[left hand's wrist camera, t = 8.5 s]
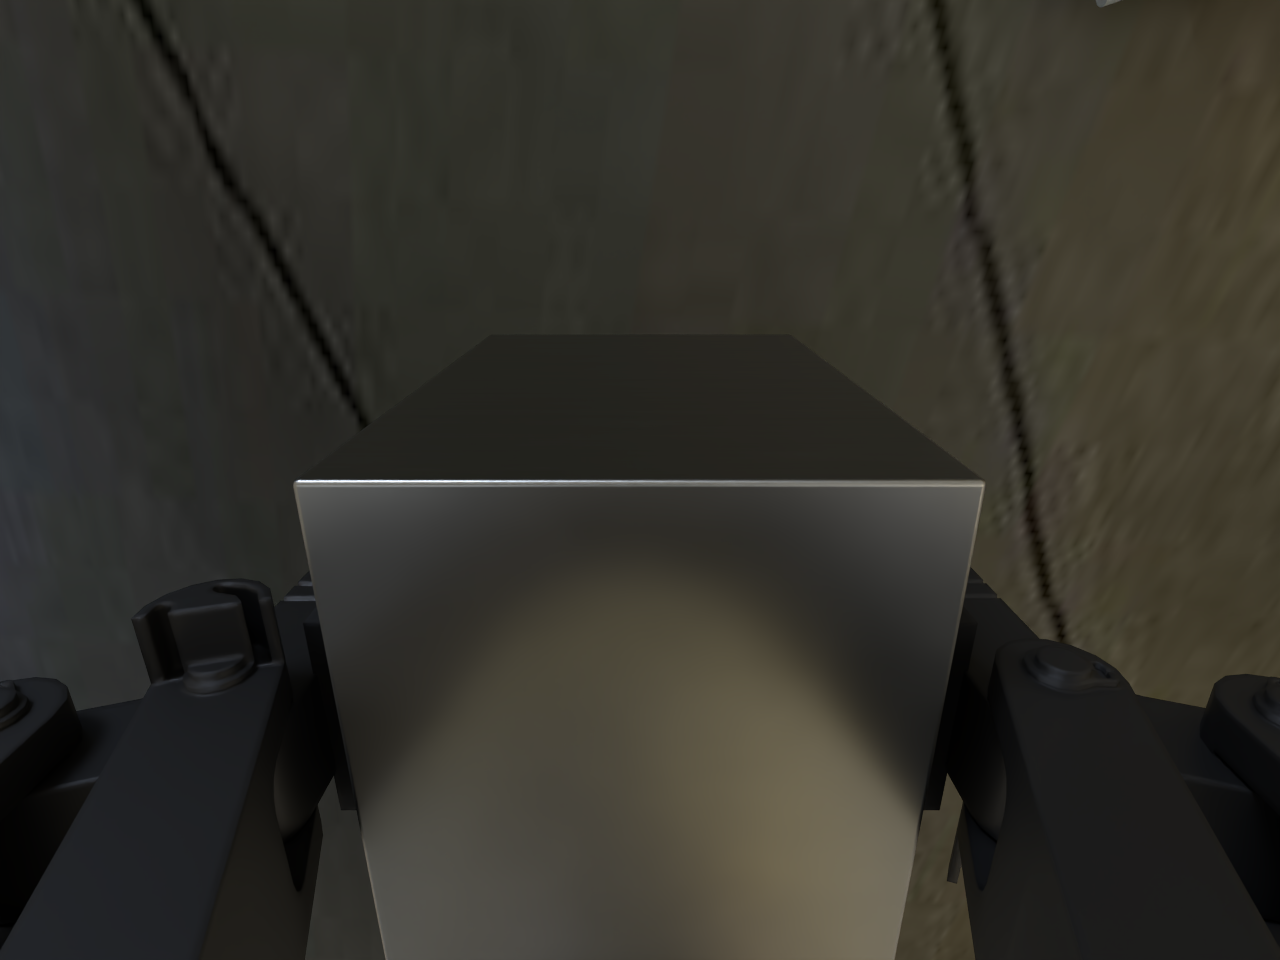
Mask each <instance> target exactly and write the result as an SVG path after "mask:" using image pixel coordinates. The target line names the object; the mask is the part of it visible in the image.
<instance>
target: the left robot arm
mask: <svg viewBox="0 0 1280 960" xmlns="http://www.w3.org/2000/svg"><path fill="white" fill-rule="evenodd" d="M131 620H132V623H133V626H134V629H135V633H136V636H137V639H138V642H139V646H140V649H141V652H142V655H143V659H144V662H145V665H146V668H147V671H148V675H149V678H150V681H151V685H150V687H149V689H148V691H147V692H146V694H145V696H144V698H142V699H138V700H133V701H127V702H122V703H117V704H112V705H106V706H101V707H96V708H91V709H85V710H80V711H76V710H75V707H74V704H73V701H72V698H71V696H70V693H69V690H68V687H67V686H66V685H64V684H63V683H61V682H60V681H58V680H57V679H50V678H39V677H33V678H26V679H19V680H6V681H2V682H0V960H305V954H306V947H307V940H308V934H309V927H310V920H311V913H312V906H313V899H314V892H315V886H316V879H317V872H318V865H319V858H320V851H321V845H322V838H323V832H322V824H321V818H320V813H319V809H318V803H319V801H320V799H321V797H322V795H323V794H324V792H325V790H326V788H327V786H328V785H329V783H330V781H331V779H332V777H333V776H334V778H335V783H336V788H337V793H338V798H339V803H340V808H341V810H356V805H355V799H354V794H353V789H352V784H351V779H350V774H349V769H348V764H347V759H346V753H345V748H344V743H343V738H342V733H341V728H340V723H339V718H338V713H337V707H336V702H335V697H334V692H333V687H332V682H331V677H330V672H329V667H328V661H327V656H326V651H325V646H324V641H323V636H322V631H321V626H320V621H319V615H318V610H317V605H316V600H315V595H314V590H313V585H312V580H311V575H310V571H309V572H308V573H307V574H306V575H305V576H304V577H303V578H302V579H301V580H300V581H299V582H298V586H294V587H293V588H292V589H291V591H290V592H289V593H288V594H287V595H286V596H285V597H284V601H280V602H279V603H278V604H277V605H276V606H275V607H274V604H273V600H272V595H271V591H270V588H268V587H267V586H265V585H264V584H262V583H261V582H259V581H253V580H247V579H224V580H215V581H210V582H205V583H200V584H195V585H191V586H188V587H186V588H183V589H180V590H177V591H174V592H171V593H168V594H166V595H164V596H162V597H161V598H159V599H157V600H155V601H153V602H151V603H149V604H148V605H146V606H144V607H143V608H142V609H141V610H140V611H139V612H138V613H137V614H136V615H135V616H134V617H132V618H131ZM947 773H948V775H949V776H950V778H951V780H952V782H953V784H954V785H955V787H956V789H957V791H958V793H959V794H960V796H961V798H962V800H963V804H962V809H961V813H960V818H959V823H958V827H957V832H956V836H955V841H954V845H953V850H952V854H951V859H950V863H949V869H948V877H947V881H949V882H953V883H957V881H958V876H959V872H960V868H961V867H962V870H963V877H964V884H965V891H966V898H967V904H968V911H969V918H970V925H971V932H972V938H973V945H974V952H975V959H976V960H1280V678H1277V677H1265V676H1257V675H1250V674H1241V675H1230V676H1225V677H1223V678H1222V679H1220V680H1219V681H1217V682H1216V683H1215V684H1214V687H1213V689H1212V692H1211V695H1210V698H1209V700H1208V703H1207V706H1206V708H1202V707H1196V706H1191V705H1186V704H1181V703H1175V702H1170V701H1165V700H1160V699H1154V698H1149V697H1144V696H1140V695H1136V694H1135V693H1134V691H1133V689H1132V688H1131V686H1130V684H1129V683H1128V682H1127V680H1126V679H1125V678H1124V677H1123V676H1122V675H1121V674H1120V673H1119V671H1118V670H1117V669H1116V668H1114V667H1113V666H1111V665H1110V664H1108V663H1106V662H1105V661H1103V660H1102V659H1100V658H1099V657H1097V656H1096V655H1093V654H1091V653H1088V652H1086V651H1084V650H1081V649H1079V648H1076V647H1074V646H1072V645H1067V644H1063V643H1059V642H1055V641H1051V640H1047V639H1039V638H1038V637H1037V636H1036V635H1035V634H1034V633H1033V632H1032V631H1031V630H1030V628H1029V627H1028V626H1027V625H1026V624H1025V623H1024V622H1023V621H1022V620H1021V619H1020V618H1019V617H1018V616H1017V615H1016V614H1015V613H1014V612H1013V611H1012V610H1011V609H1010V608H1009V607H1008V606H1007V605H1006V603H1005V602H1004V601H1003V600H1002V599H1001V598H997V594H996V593H995V592H994V591H993V590H992V589H991V588H990V587H989V586H988V585H987V584H986V583H983V580H982V579H981V577H980V576H979V575H978V574H977V573H976V572H975V571H974V570H973V569H972V568H971V567H970V571H969V576H968V582H967V587H966V592H965V597H964V602H963V607H962V613H961V618H960V623H959V628H958V633H957V638H956V644H955V649H954V654H953V659H952V664H951V669H950V675H949V680H948V685H947V690H946V695H945V700H944V706H943V711H942V716H941V721H940V726H939V732H938V737H937V742H936V747H935V752H934V757H933V763H932V768H931V773H930V778H929V783H928V788H927V794H926V799H925V804H924V809H923V810H940V805H941V800H942V795H943V791H944V786H945V781H946V776H947Z"/></svg>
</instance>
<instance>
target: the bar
mask: <svg viewBox="0 0 1280 960" xmlns="http://www.w3.org/2000/svg"><path fill="white" fill-rule="evenodd" d="M293 488H294V493H295V498H296V503H297V508H298V513H299V518H300V523H301V528H302V534H303V539H304V544H305V549H306V554H307V559H308V564H309V569H310V575H311V580H312V585H313V590H314V595H315V600H316V605H317V610H318V615H319V621H320V626H321V631H322V636H323V641H324V646H325V651H326V656H327V661H328V667H329V672H330V677H331V682H332V687H333V692H334V697H335V702H336V707H337V713H338V718H339V723H340V728H341V733H342V738H343V743H344V748H345V753H346V759H347V764H348V769H349V774H350V779H351V784H352V789H353V794H354V799H355V805H356V810H357V815H358V820H359V825H360V830H361V835H362V840H363V845H364V851H365V856H366V861H367V866H368V871H369V876H370V881H371V886H372V892H373V897H374V902H375V907H376V912H377V917H378V922H379V927H380V932H381V938H382V943H383V948H384V953H385V958H386V960H894V959H895V954H896V949H897V944H898V938H899V933H900V928H901V923H902V918H903V912H904V907H905V902H906V897H907V892H908V887H909V881H910V876H911V871H912V866H913V861H914V856H915V850H916V845H917V840H918V835H919V830H920V825H921V819H922V814H923V809H924V804H925V799H926V794H927V788H928V783H929V778H930V773H931V768H932V763H933V757H934V752H935V747H936V742H937V737H938V732H939V726H940V721H941V716H942V711H943V706H944V700H945V695H946V690H947V685H948V680H949V675H950V669H951V664H952V659H953V654H954V649H955V644H956V638H957V633H958V628H959V623H960V618H961V613H962V607H963V602H964V597H965V592H966V587H967V582H968V576H969V571H970V566H971V561H972V556H973V551H974V545H975V540H976V535H977V530H978V525H979V520H980V514H981V509H982V504H983V499H984V494H985V488H986V484H985V480H984V479H983V478H981V477H980V476H979V475H977V474H976V473H975V472H973V471H972V470H971V469H969V468H968V467H967V466H965V465H964V464H963V463H961V462H960V461H959V460H957V459H956V458H955V457H953V456H952V455H951V454H949V453H948V452H947V451H945V450H944V449H942V448H941V447H940V446H938V445H937V444H936V443H934V442H933V441H932V440H930V439H929V438H928V437H926V436H925V435H924V434H922V433H921V432H920V431H918V430H917V429H916V428H914V427H913V426H912V425H910V424H909V423H908V422H906V421H905V420H904V419H902V418H901V417H900V416H898V415H897V414H896V413H894V412H893V411H892V410H890V409H889V408H888V407H886V406H885V405H884V404H882V403H881V402H880V401H878V400H877V399H876V398H874V397H873V396H872V395H870V394H869V393H868V392H866V391H865V390H864V389H862V388H861V387H860V386H858V385H857V384H856V383H854V382H853V381H852V380H850V379H849V378H848V377H846V376H845V375H844V374H842V373H841V372H840V371H838V370H837V369H836V368H834V367H833V366H832V365H830V364H829V363H828V362H826V361H825V360H824V359H822V358H821V357H820V356H818V355H817V354H816V353H814V352H813V351H812V350H810V349H809V348H808V347H806V346H805V345H804V344H802V343H801V342H799V341H798V340H797V339H795V338H794V337H793V336H791V335H490V336H488V337H487V338H486V339H484V340H483V341H482V342H480V343H479V344H478V345H476V346H475V347H474V348H472V349H471V350H470V351H468V352H467V353H466V354H464V355H463V356H461V357H460V358H459V359H457V360H456V361H455V362H453V363H452V364H451V365H449V366H448V367H447V368H445V369H444V370H443V371H441V372H440V373H438V374H437V375H436V376H434V377H433V378H432V379H430V380H429V381H428V382H426V383H425V384H424V385H422V386H421V387H420V388H418V389H417V390H416V391H414V392H413V393H411V394H410V395H409V396H407V397H406V398H405V399H403V400H402V401H401V402H399V403H398V404H397V405H395V406H394V407H393V408H391V409H390V410H389V411H387V412H386V413H384V414H383V415H382V416H380V417H379V418H378V419H376V420H375V421H374V422H372V423H371V424H370V425H368V426H367V427H366V428H364V429H363V430H361V431H360V432H359V433H357V434H356V435H355V436H353V437H352V438H351V439H349V440H348V441H347V442H345V443H344V444H343V445H341V446H340V447H339V448H337V449H336V450H334V451H333V452H332V453H330V454H329V455H328V456H326V457H325V458H324V459H322V460H321V461H320V462H318V463H317V464H316V465H314V466H313V467H312V468H310V469H309V470H307V471H306V472H305V473H303V474H302V475H301V476H299V477H298V478H297V479H295V481H294V485H293Z"/></svg>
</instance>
